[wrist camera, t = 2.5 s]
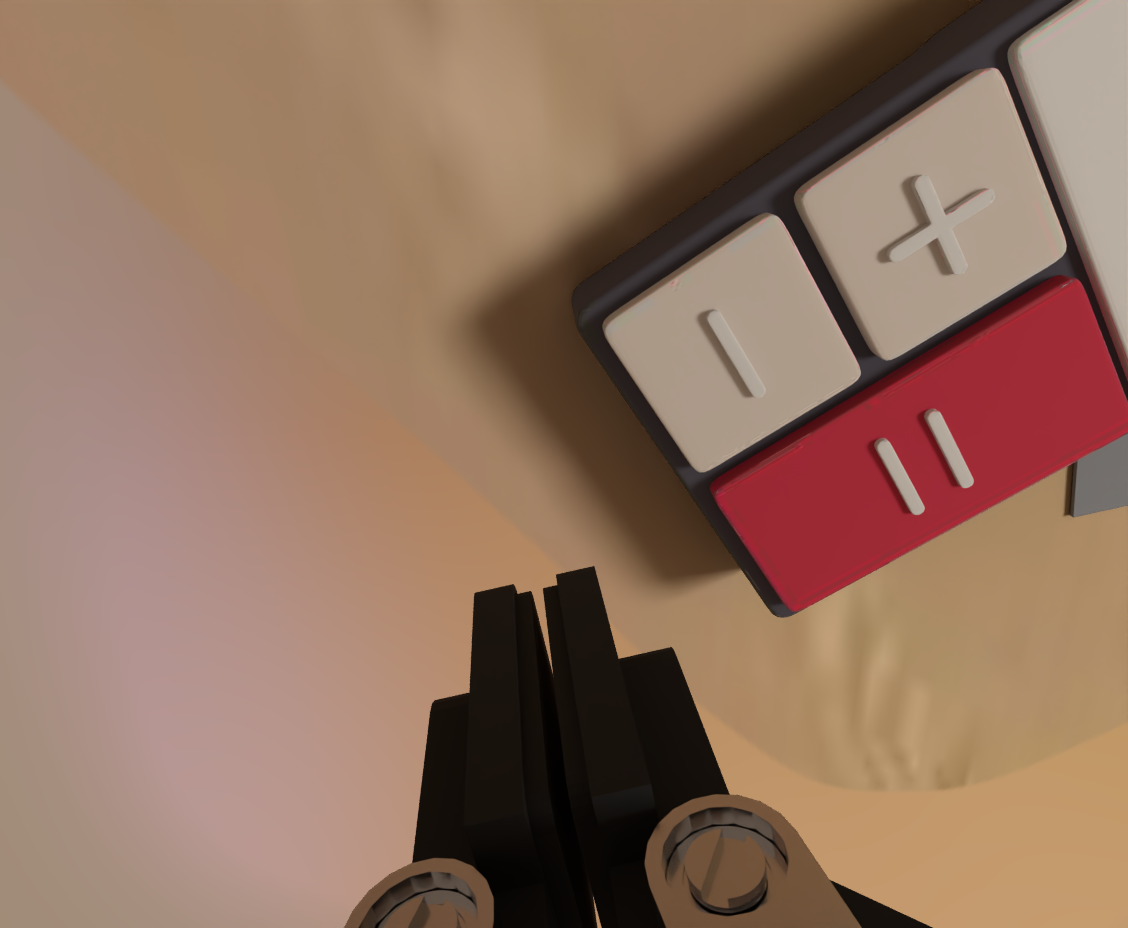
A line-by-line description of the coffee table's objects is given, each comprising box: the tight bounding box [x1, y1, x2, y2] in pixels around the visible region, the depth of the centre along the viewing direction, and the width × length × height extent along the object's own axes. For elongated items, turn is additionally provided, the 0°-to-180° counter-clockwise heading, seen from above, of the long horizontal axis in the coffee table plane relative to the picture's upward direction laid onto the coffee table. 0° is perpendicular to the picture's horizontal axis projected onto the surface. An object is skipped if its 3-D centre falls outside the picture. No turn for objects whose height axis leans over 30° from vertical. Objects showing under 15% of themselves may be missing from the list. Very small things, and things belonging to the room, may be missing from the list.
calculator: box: [572, 0, 1128, 618], centre depth 20 cm, size 11×4×15 cm
